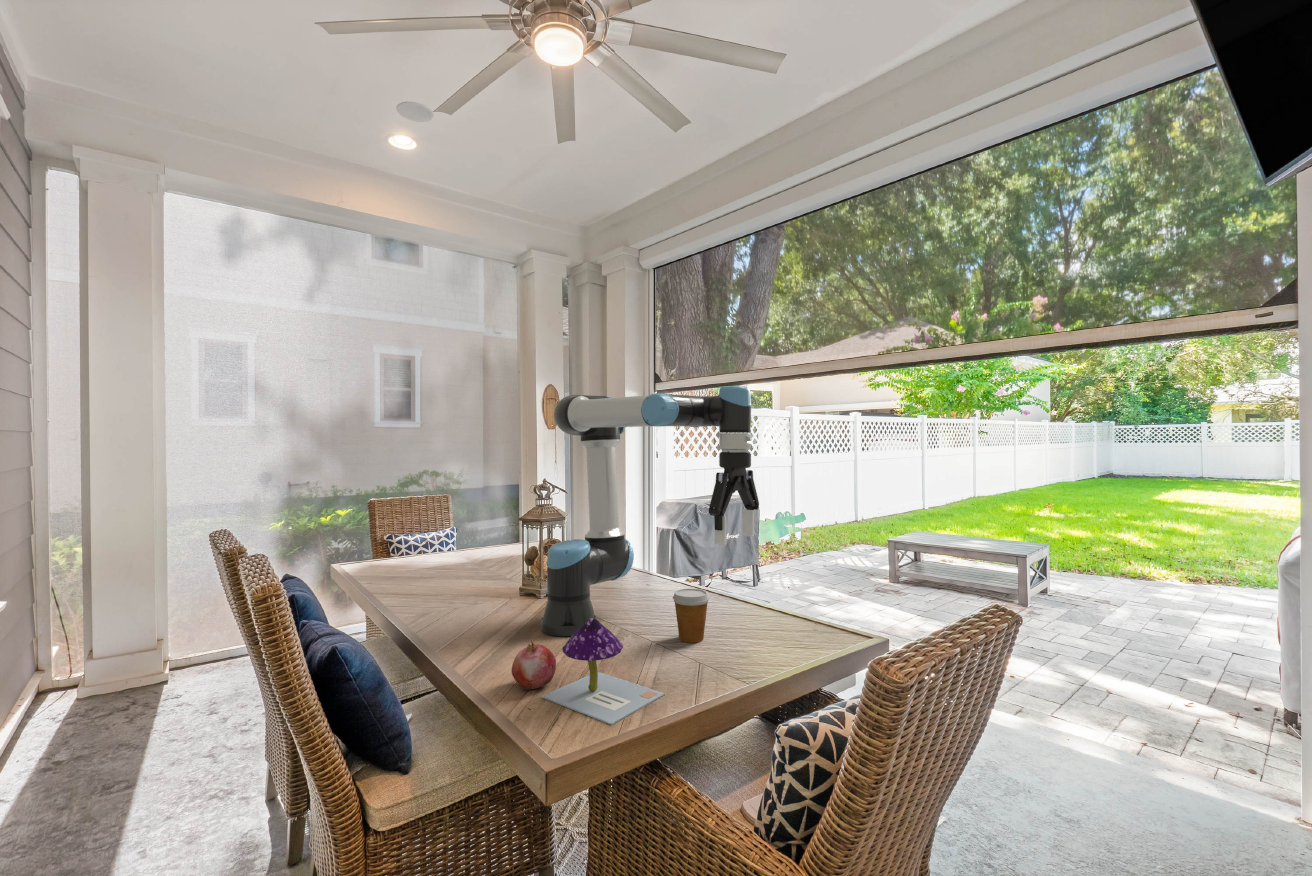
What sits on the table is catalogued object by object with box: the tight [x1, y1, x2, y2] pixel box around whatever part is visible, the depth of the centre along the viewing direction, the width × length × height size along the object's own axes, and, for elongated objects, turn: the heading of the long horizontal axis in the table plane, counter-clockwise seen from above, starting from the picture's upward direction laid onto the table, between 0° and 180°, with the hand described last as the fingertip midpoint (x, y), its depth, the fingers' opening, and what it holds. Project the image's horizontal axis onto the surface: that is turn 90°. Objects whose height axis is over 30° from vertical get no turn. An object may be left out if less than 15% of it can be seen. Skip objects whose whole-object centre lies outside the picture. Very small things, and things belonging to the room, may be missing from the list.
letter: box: [541, 671, 666, 726], centre depth 121 cm, size 19×16×1 cm
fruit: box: [511, 639, 557, 691], centre depth 126 cm, size 9×10×10 cm
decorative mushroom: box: [561, 618, 624, 691], centre depth 122 cm, size 12×12×15 cm
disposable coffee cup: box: [672, 588, 710, 644], centre depth 155 cm, size 10×10×12 cm
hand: (735, 540), depth 142 cm, fingers open, 13 cm apart
